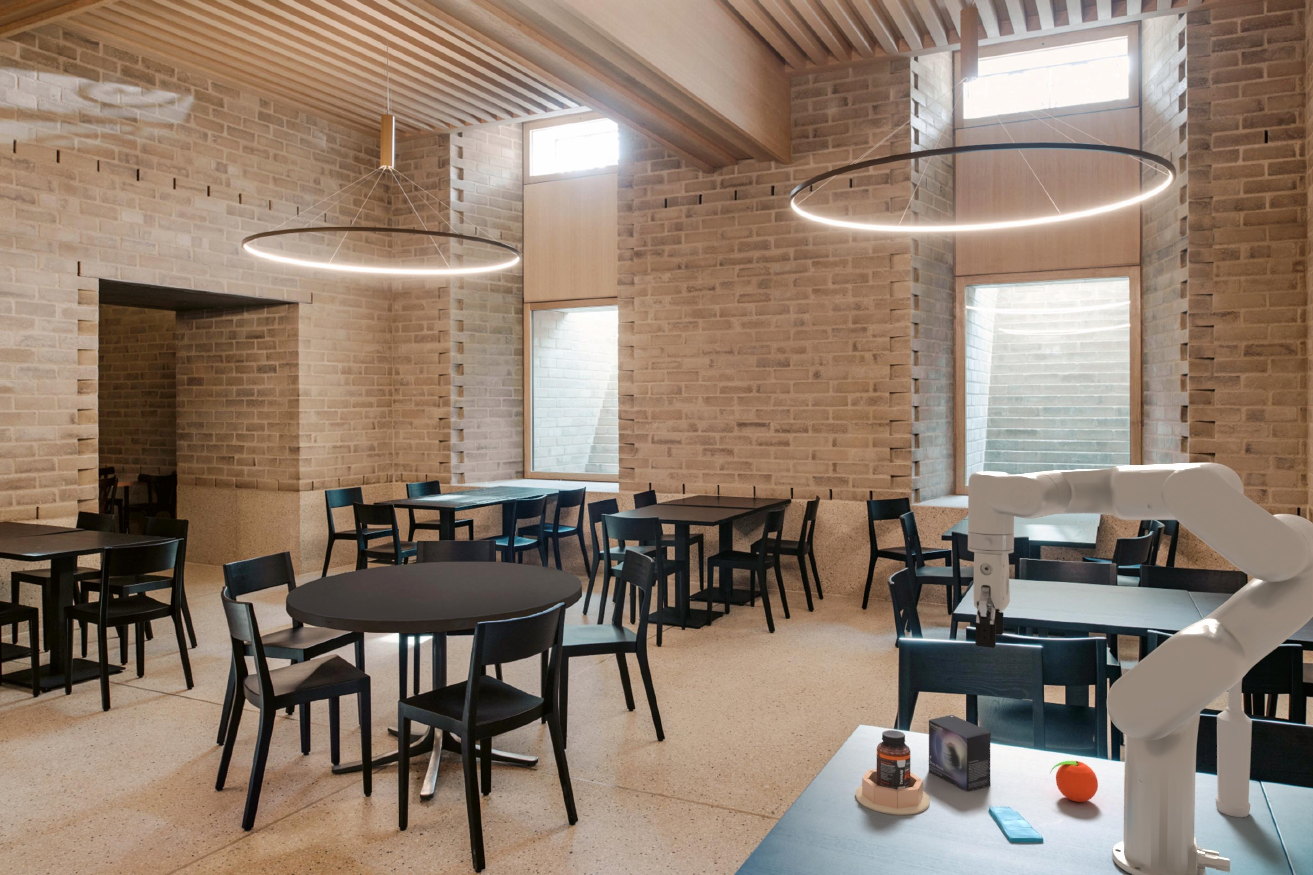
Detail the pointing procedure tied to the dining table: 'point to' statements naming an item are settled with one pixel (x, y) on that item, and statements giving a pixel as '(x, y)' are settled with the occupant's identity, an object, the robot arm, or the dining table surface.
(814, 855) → the dining table surface
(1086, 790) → the clementine
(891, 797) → the cup holder
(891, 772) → the supplement bottle
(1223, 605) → the robot arm
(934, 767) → the small box
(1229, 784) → the bottle
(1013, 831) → the sponge
